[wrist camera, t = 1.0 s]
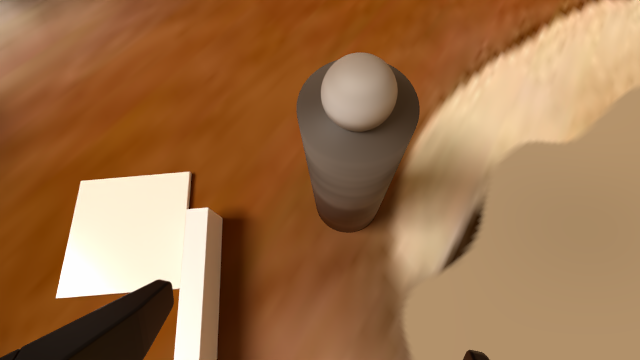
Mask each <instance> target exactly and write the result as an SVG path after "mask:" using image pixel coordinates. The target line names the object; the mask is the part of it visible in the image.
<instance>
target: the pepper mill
mask: <svg viewBox="0 0 640 360" xmlns="http://www.w3.org/2000/svg"><path fill="white" fill-rule="evenodd" d="M297 118H298V123H299V127H300V132H301V137H302V141H303V146H304V151H305V155H306V160H307V165H308V169H309V174H310V178H311V183H312V188H313V192H314V197H315V202H316V206H317V210H318V213H319V216H320V217H321V219H322V220H323V221H324V223H326V224H327V225H328V226H329V227H331V228H332V229H334V230H337V231H340V232H355V231H359V230H361V229H363V228H365V227H366V226H367V225H369V224H370V223H371V222H372V220H373V219H374V217H375V215H376V213H377V211H378V209H379V207H380V204H381V202H382V200H383V198H384V196H385V194H386V191H387V189H388V187H389V185H390V183H391V181H392V178H393V176H394V174H395V172H396V170H397V168H398V165H399V163H400V161H401V159H402V157H403V155H404V152H405V150H406V148H407V146H408V144H409V142H410V139H411V137H412V135H413V133H414V131H415V129H416V126H417V123H418V119H419V100H418V97H417V94H416V92H415V89H414V87H413V86H412V84H411V83H410V81H409V80H408V79H407V78H406V77H405V76H404V75H403V74H402V73H401V72H400V71H398V70H397V69H396V68H394V67H392V66H391V65H389V64H387V63H385V62H384V61H383V60H382V59H380V58H379V57H377V56H374V55H372V54H368V53H353V54H349V55H346V56H344V57H342V58H340V59H339V60H336V61H333V62H331V63H328V64H327V65H325V66H323V67H321V68H320V69H318V70H317V71H316V72H314V73H313V74H312V75H311V76H310V77H309V78H308V79H307V81H306V82H305V84H304V85H303V87H302V89H301V91H300V93H299V96H298V101H297Z"/></svg>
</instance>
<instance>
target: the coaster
mask: <svg viewBox="0 0 640 360" xmlns="http://www.w3.org/2000/svg"><path fill="white" fill-rule="evenodd" d="M191 176H192V174H191V173H190V172H181V173H170V174H158V175H146V176H134V177H123V178H111V179H99V180H87V181H81V184H80V188H79V193H78V198H77V202H76V207H75V212H74V216H73V221H72V226H71V230H70V235H69V240H68V244H67V249H66V254H65V258H64V263H63V267H62V272H61V277H60V281H59V286H58V291H57V295H56V298H67V297H80V296H93V295H106V294H119V293H131V292H133V291H135V290H137V289H139V288H141V287H143V286H145V285H147V284H149V283H151V282H153V281H155V280H158V279H161V280H165V281H169V282H171V283H172V288H173V289H180V282H181V270H182V258H183V246H184V234H185V222H186V210H187V209H189V200H190V188H191Z"/></svg>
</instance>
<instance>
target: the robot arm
mask: <svg viewBox="0 0 640 360" xmlns="http://www.w3.org/2000/svg"><path fill="white" fill-rule="evenodd" d="M173 304H174V298H173V288H172V283H171V282H169V281H165V280H161V279H158V280H155V281H153V282H151V283H149V284H147V285H145V286H143V287H141V288H139V289H137V290H135V291H133V292H131V293H129V294H127V295H125V296H123V297H121V298H119V299H117V300H115V301H113V302H111V303H109V304H107V305H105V306H103V307H101V308H99V309H97V310H95V311H93V312H91V313H89V314H87V315H85V316H83V317H81V318H79V319H77V320H75V321H73V322H71V323H69V324H67V325H65V326H63V327H61V328H59V329H57V330H55V331H53V332H51V333H49V334H47V335H45V336H43V337H41V338H39V339H37V340H35V341H33V342H31V343H29V344H27V345H25V346H23V347H22V348H21V349H17V350H15V351H13V352H11V353H9V354H7V355H5V356H3V357H1V358H0V360H143V359H144V357H145V355H146V354H147V352H148V350H149V349H150V347H151V345H152V343H153V342H154V340H155V338H156V336H157V334H158V333H159V331H160V329H161V327H162V325H163V324H164V322H165V320H166V318H167V316H168V315H169V313H170V311H171V309H172V307H173ZM463 360H489V358H488V357H487V356H486V355H485V354H484V353H482V352H478V351H473V350H468V351H467V352H466V354H465V356H464V359H463Z"/></svg>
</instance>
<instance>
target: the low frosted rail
mask: <svg viewBox="0 0 640 360" xmlns="http://www.w3.org/2000/svg"><path fill="white" fill-rule="evenodd" d="M222 223H223V218H222V217H220V216H219V215H218V214H216V213H215V212H213V211H212V210H211V209H209V208H198V209H187V210H186V222H185V234H184V246H183V258H182V270H181V282H180V294H179V306H178V318H177V330H176V342H175V354H174V360H217V346H218V322H219V297H220V273H221V248H222Z"/></svg>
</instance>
